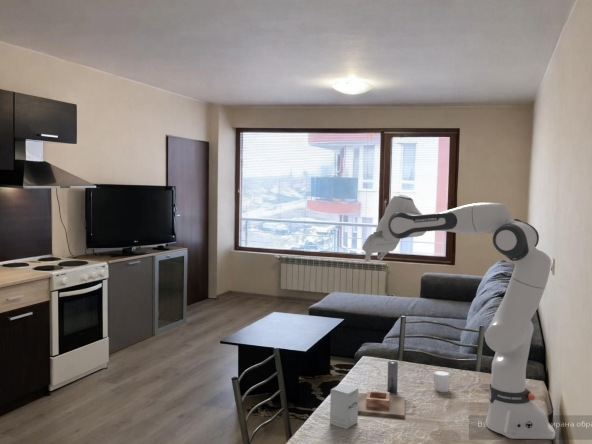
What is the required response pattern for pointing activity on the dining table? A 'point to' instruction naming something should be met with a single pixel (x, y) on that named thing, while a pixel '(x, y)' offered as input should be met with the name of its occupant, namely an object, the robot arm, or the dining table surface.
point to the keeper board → (381, 404)
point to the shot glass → (441, 381)
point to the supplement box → (344, 406)
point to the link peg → (392, 376)
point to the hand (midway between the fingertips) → (373, 259)
